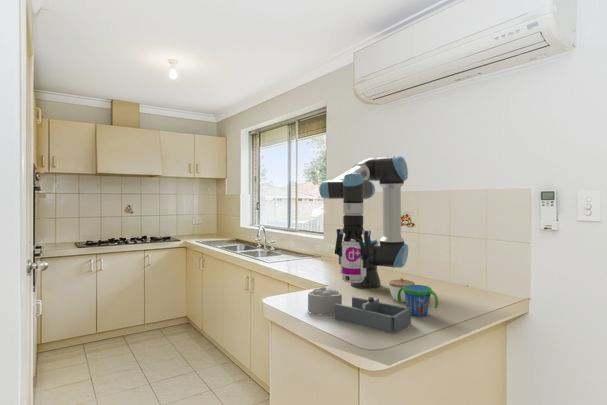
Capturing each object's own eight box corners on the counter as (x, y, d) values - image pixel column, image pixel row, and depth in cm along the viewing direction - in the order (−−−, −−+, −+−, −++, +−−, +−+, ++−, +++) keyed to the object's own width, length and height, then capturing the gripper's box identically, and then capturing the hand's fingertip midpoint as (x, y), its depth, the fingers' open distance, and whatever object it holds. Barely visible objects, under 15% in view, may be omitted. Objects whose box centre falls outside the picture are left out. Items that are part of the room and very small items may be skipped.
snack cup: (392, 312, 145) (392, 286, 144) (406, 306, 152) (406, 281, 152) (429, 321, 133) (429, 293, 133) (442, 315, 141) (443, 288, 141)
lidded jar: (415, 297, 165) (415, 276, 165) (414, 304, 155) (414, 282, 155) (390, 295, 169) (390, 275, 168) (388, 302, 158) (388, 280, 158)
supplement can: (363, 283, 134) (363, 242, 134) (341, 282, 136) (341, 242, 135) (364, 279, 142) (364, 240, 142) (343, 278, 144) (343, 239, 143)
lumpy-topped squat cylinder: (343, 313, 143) (343, 291, 143) (310, 316, 140) (310, 293, 140) (336, 306, 153) (336, 285, 153) (305, 307, 151) (305, 286, 151)
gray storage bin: (334, 318, 137) (334, 304, 137) (353, 310, 147) (353, 296, 147) (394, 334, 121) (394, 317, 121) (410, 323, 131) (411, 308, 131)
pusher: (361, 320, 131) (361, 300, 131) (375, 313, 139) (375, 294, 139) (366, 321, 130) (366, 301, 130) (380, 314, 137) (380, 295, 137)
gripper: (324, 214, 142) (324, 272, 143) (372, 215, 129) (372, 280, 129) (336, 213, 148) (336, 269, 148) (383, 215, 135) (383, 277, 135)
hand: (353, 274), depth 139 cm, fingers closed on supplement can, 8 cm apart
